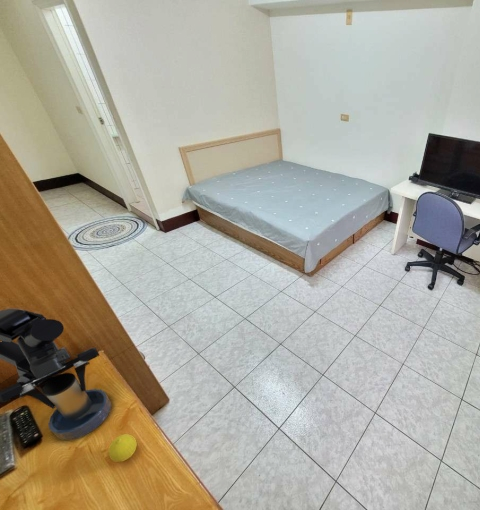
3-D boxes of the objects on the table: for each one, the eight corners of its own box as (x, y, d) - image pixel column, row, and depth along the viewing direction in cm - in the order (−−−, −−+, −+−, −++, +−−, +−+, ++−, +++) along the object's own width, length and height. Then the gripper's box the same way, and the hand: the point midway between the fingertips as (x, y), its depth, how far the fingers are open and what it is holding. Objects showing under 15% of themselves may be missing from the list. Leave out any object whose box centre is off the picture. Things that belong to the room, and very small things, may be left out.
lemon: (127, 469, 68) (117, 455, 64) (109, 463, 68) (97, 449, 64) (145, 446, 72) (136, 431, 68) (128, 440, 73) (118, 426, 69)
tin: (61, 409, 74) (40, 383, 68) (89, 394, 79) (71, 368, 72) (66, 425, 71) (44, 399, 65) (95, 408, 76) (77, 382, 69)
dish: (51, 418, 76) (44, 410, 74) (104, 388, 85) (100, 381, 82) (60, 450, 70) (53, 443, 68) (116, 415, 78) (112, 408, 76)
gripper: (-25, 373, 58) (10, 432, 59) (83, 327, 72) (112, 376, 72) (-9, 373, 66) (22, 425, 66) (86, 332, 79) (111, 376, 80)
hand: (69, 399), depth 71 cm, fingers closed on tin, 6 cm apart
